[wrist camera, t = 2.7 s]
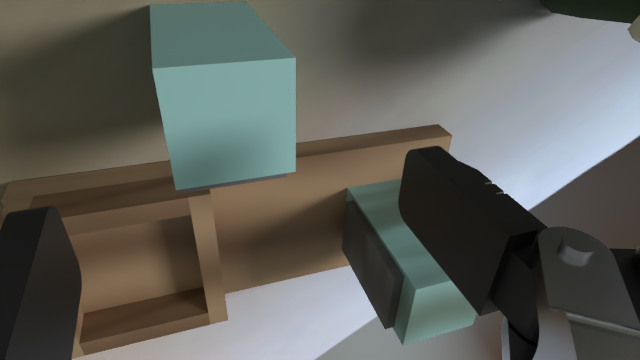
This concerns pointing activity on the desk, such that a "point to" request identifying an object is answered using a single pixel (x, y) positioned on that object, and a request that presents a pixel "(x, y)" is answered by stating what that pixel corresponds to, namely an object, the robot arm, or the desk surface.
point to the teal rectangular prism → (223, 94)
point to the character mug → (601, 11)
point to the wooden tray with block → (246, 240)
